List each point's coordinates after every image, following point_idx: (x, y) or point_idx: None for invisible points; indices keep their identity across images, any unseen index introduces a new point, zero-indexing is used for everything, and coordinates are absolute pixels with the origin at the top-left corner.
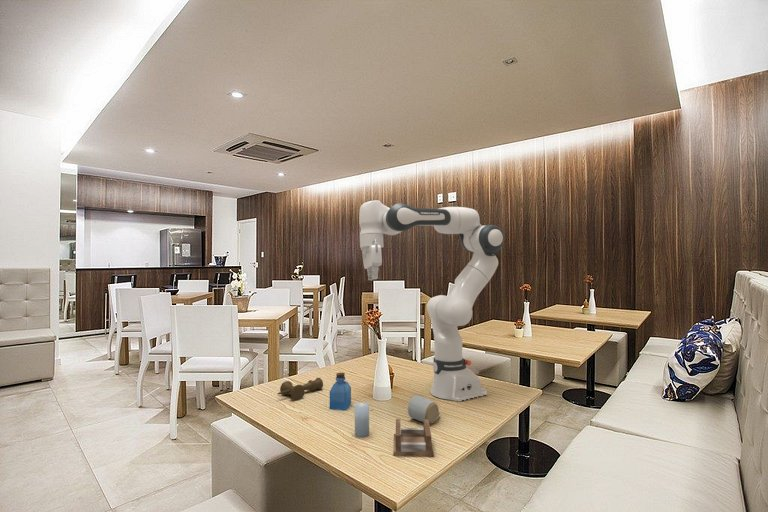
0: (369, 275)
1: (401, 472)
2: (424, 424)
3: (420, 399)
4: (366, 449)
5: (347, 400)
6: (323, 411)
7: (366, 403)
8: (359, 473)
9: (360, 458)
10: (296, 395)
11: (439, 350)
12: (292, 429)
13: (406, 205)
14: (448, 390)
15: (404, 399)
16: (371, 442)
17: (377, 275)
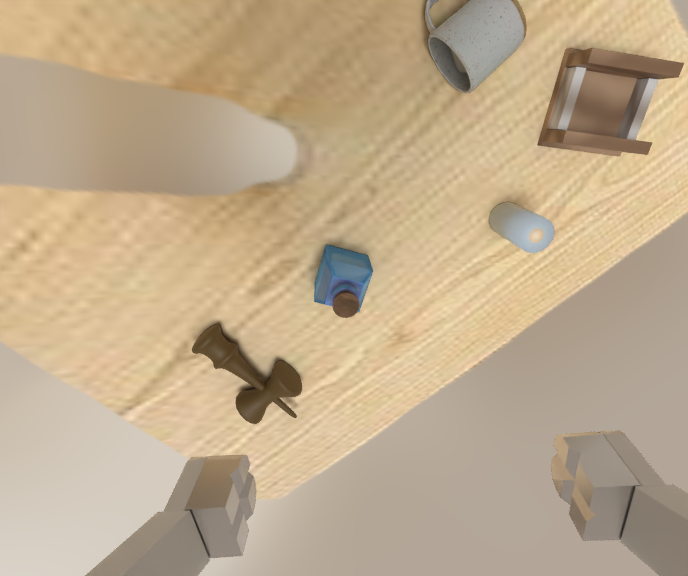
0: (204, 551)
1: (676, 146)
2: (618, 67)
3: (491, 47)
4: (572, 209)
5: (358, 259)
6: (367, 305)
7: (531, 223)
8: (649, 223)
9: (601, 221)
10: (295, 377)
11: None
12: (451, 352)
13: None
14: None
15: (298, 79)
16: (546, 198)
17: (649, 469)
